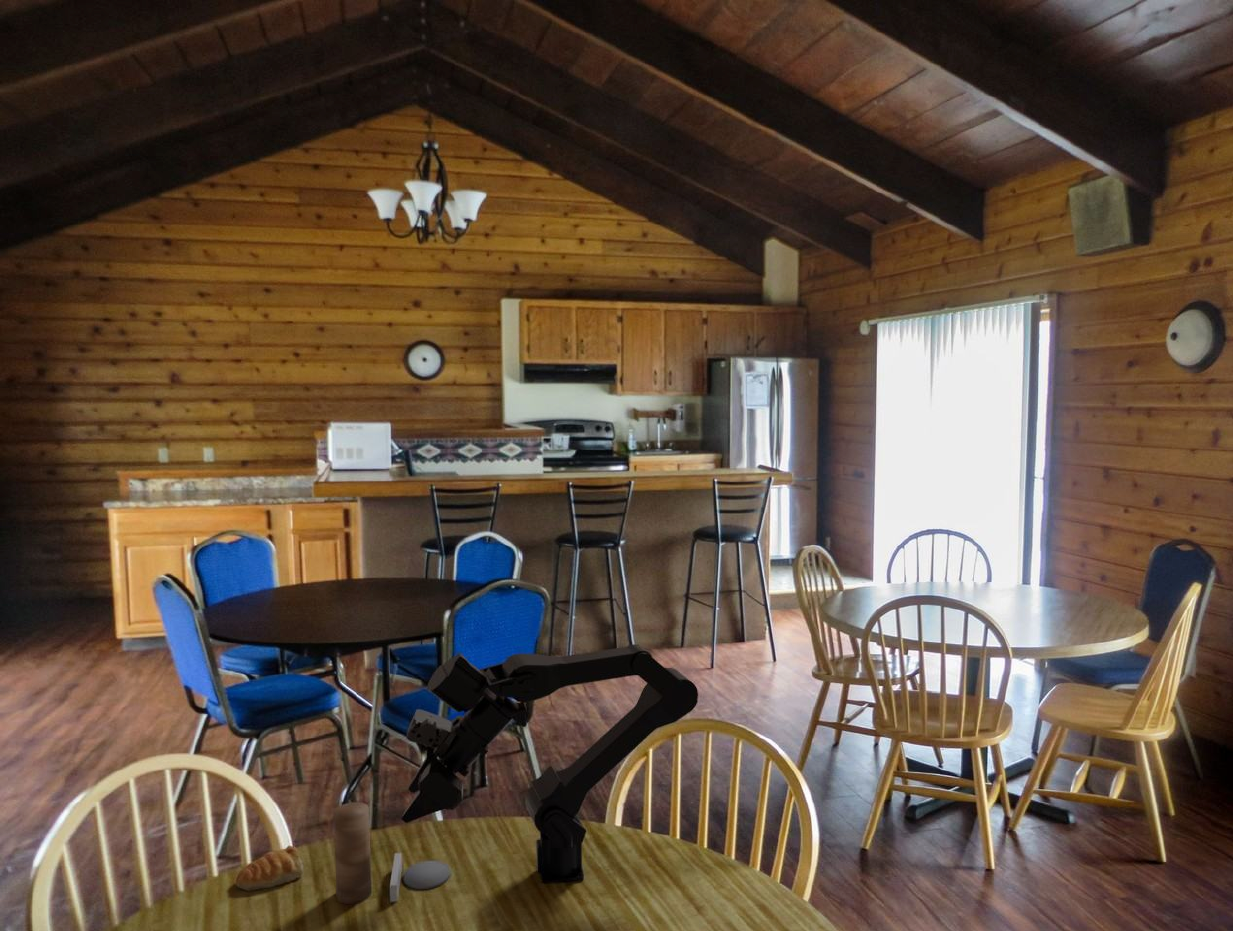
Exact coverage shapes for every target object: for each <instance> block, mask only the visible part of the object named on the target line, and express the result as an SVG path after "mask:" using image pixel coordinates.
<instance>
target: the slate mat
mask: <svg viewBox="0 0 1233 931" xmlns="http://www.w3.org/2000/svg"><path fill="white" fill-rule="evenodd" d="M450 868H451V867H450V866H449V865H447V864H446V863H445V862H443V861H439V860H424V861H420V862H418V863H415V864H413V865H411V866H409V867H408V868H407V869H405V871H404V872H403V882H404V884H405V885H406V886H407V887H409V888H411V889H416V890H428V889H429V890H430V889H433V888H437V887H440V886H441V885H443V884H445V883H446V882H447V881H448V880H449V878H450V876H451V869H450Z"/></svg>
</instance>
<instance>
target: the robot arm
mask: <svg viewBox="0 0 1233 931" xmlns="http://www.w3.org/2000/svg"><path fill="white" fill-rule="evenodd" d="M632 676H638V677H639V678H640V679H642V680H643V681H644V682H645V683H646V684H645V685H644V686H643V689H642V690H641V694H640V695H639V698H638V700H637V702H636V704H635V706H633V707H632V709H630V711H628V712H627V713H626V714H625V715H624V716H622V717H621V718H620V720H618V721H617V722H616V723H615V724H614V725H613V726H612V727H611V728H610V729H609V730H608V731H606V732H605V733H604V734H603V735H602V736H601V737H600V738H599V739H598V740H597V741H596V742H594V743H593V744H592V745H591V746H590V747H589V748H588V749H587V750H586V751H585V752H583V753H582V755H580V756H579V757H578V758H577V759H576V760H575V761H574V762H573V763H571V765H569V766H568V767H567V768H563V769H560V770H558V771H556V770H555V769H554V767H553V766H551V765H550V766H548V767H547V768H546V769H545V770H544V772H543V773H542V774H541V775H540V776H539V777H538V778H536V779H534V780H532V781H531V782H530V785H531V786H530V788H529V789H528V790H527V792H526V794H525V802H524V803H525V807H526V810H527V812H528V814H529V816H530V818H531V821H532V822H533V824H534V826H535V827H536V829H537V831H539V839H536V840H535V844H536V845H535V850H536V852H535V856H536V858H535V859H536V862H535V864H536V871H537V873H538V874H539V875H540V880H541V883H543V884H547V883H549V884H550V883H558V882H570V881H579V880H583V879H585V874H584V869H583V847H582V846H583V843H584V839H585V836H586V834H587V829H586V828H585V826H584V824H583V823H582V821H581V820H580V817H579V816H578V814H579V813H580V810H581V809H582V807H583V804H584V802H585V800H586V797H587V795H588V794H589V792H590V791H592V789H593V788H594V787H596V786H597V784H599V783H600V782H601V781H602V780H603V779H604V778H605V777H606V776H607V775H609V773H611V772H612V770H614V769H615V768H616V767H617V766H618V765H619V764H620V763H622V761H624V760H625V758H626V757H628V756H629V755H630V754H631V753H632V752H634V750H635V749H636V748H637V747H639V745H640V744H642V743H643V742H644V741H645V740H646V739H647V738H648V737H649V736H650V735H651V734H652V733H653V732H654V731H656V730H657V729H660V728H662V727H663V728H664V727H666V726H669V725H672V724H675V723H677V722H678V721H679V720H681V719H682V718H684V717H685V716H687V715H688V714H690V713H691V712H692V711H694V709H695V708H696V706H697V705H698V702H699V701H698V699H699V693H698V688H697V686H696V684H695V683H694V682H692V680H691V679H689V678H688V677H687V676H685V675H684V674H683V673H682V672H680V671H679V670H678V669H675V668H673V667H665V666H663V665H662V664H661V663H659V662H658V660H656V659H655V658H654V657H653V655H652V653H650V652H649V651H648V650H646V649H645V648H644V647H643V646H641V645H640V644H635V643H634V644H630V645H627V646H622V647H619V648H617V647H615V648H611V649H604V650H598V651H590V652H583V653H578V654H570V655H564V656H551V655H546V654H541V653H540V654H539V653H515V654H511V655H510V656H508V657H507V658H506V659H505V660H504V662H500V663H496V664H493V665H490V666H486V667H482V668H477V667H476V666H474V665H473V664H472V663H470V662H469V661H468V659H467V658H466V657H465V656H464V655H463V654H461V653H460V652H458V653H456V654H455V655H454V657H453V658H450V659H448V660H447V661H445V662H444V663H443V664H440V665H439V666H438V667H437V668H436V670H435V671H434V673H433V674H432V676H431V677H430V679H429V681H428V683H427V685H426V686H427V688H426V690H427V691H428V692H430V693H431V694H432V695H434V696H435V697H436V698H437V699H439V700H440V701H441V702H442V703H444V704H445V705H446V706H448V707H449V708H450V709H452V710H454V711H455V712H456V713H462V712H464V713H465V714H464V715H461V714H460V715H456V716H455V717H454V718H453V719H452V720H448V719H446V718H445V717H443V716H440V715H438V714H434V713H432V712H429V711H426V710H425V709H420V708H417V709H416V710H415V712H414V713H413V717H412V719H411V721H410V724H409V725H408V726H409V727H408V728H407V733H406V736H405V738H406V739H407V741H409V742H413V743H418V744H420V745H424V746H426V756H425V758H424V760H423V762H421V766H420V767H419V769H418V770H417V771H416V774H415V775H414V778H413V779H412V781H411V782H410V783H409V786H408V788H407V790H408V791H409V792H411V793H412V794H415V793H416V792H417V793H416V795H415V796H414V798H413V799H412V801H411V802H410V803H409V805H408V806H407V808H406V809H405V811H404V812H403V814H402V816H401V818H400V819H401V821H403V822H404V823H406V824H408V823H410V822H414V821H416V820H418V819H420V818H423V817H426V816H428V815H432V814H433V813H437V812H439V811H443V810H446V811H449V810H450V811H453V810H455V809H456V808H457V807H458V806H459V805H460V804H461V802H462V801H463V794H464V783H463V782H464V780H462V778H460V777H459V776H457V773H459V774H460V775H461V776H462V777H463V778H465V777H466V776H467V775H468V774H469V773H470V767H471V765H472V764H473V763H474V762H475V761H476V760H477V759H478V758H479V756H482V757H485V756H486V755H487V754H488V752H489V746H490V745H491V744H492V743H493V742H494V740H496V739H497V737H498V736H500V734H501V733H502V732H503V730H504V729H506V728H507V727H508V725H509V724H510V723H511V722H512V721H515V722H516V723H517V724H518V725H519V726H520V727H522V728H526V726H527V718H526V715H527V711H528V709H527V705H526V703H531V702H535V701H537V700H539V699H544V698H547V697H549V696H551V695H552V694H553V693H555V692H557V691H558V690H560V689H563V688H565V687H569V686H576V685H583V684H588V683H594V682H601V681H607V680H613V679H620V678H621V679H622V678H625V677H632ZM511 698H512V699H511Z"/></svg>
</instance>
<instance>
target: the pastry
mask: <svg viewBox="0 0 1233 931" xmlns="http://www.w3.org/2000/svg"><path fill="white" fill-rule="evenodd" d="M302 861H303V860H301V857H300V852H299V851H298V849H297V847H296V846H292V845H288V846H287V847H285V848H282V849H278V850H274V852H273V851H269V852H267V853H264V854H263V855H262V856H261V857H260V858H258V859H257V860H255V861H253V862H251V863H249V864H248V865H247V866H244V868H242V869H241V870H240V871H239V872H238V874H237V876H236V880H235V885H236V887H237V888H240V889H242V890H243V891H250V892H251V891H255V890H261V889H260V888H262V889H271V888H274V887H275V885H276V886H279V885H283V884H286V883H285V882H287V883H289V882H288V881H290V882H292V881H291V880H293V879H295V880H297V879H300V878H301V877H302V875H303V874H304V871H305V870H304V866H303V862H302ZM296 878H297V879H296ZM293 881H294V880H293ZM282 883H283V884H282Z"/></svg>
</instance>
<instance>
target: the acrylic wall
mask: <svg viewBox="0 0 1233 931" xmlns="http://www.w3.org/2000/svg"><path fill="white" fill-rule="evenodd" d="M402 868H403V860H402V852H395V853H394V856H393V863H392V868H391V869H392V870H391V877H390V884H389V902H390V903H395V902H398V899H399V893H400V892H399V891H400V884H401V876H402V870H403V869H402Z"/></svg>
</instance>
